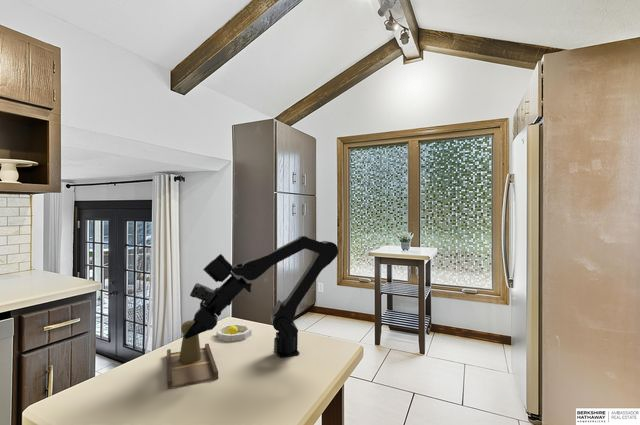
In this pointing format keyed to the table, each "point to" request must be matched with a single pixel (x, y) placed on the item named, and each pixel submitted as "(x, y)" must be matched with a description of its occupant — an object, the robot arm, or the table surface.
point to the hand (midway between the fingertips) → (187, 332)
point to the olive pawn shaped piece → (189, 346)
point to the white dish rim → (234, 337)
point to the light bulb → (231, 330)
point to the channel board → (190, 369)
